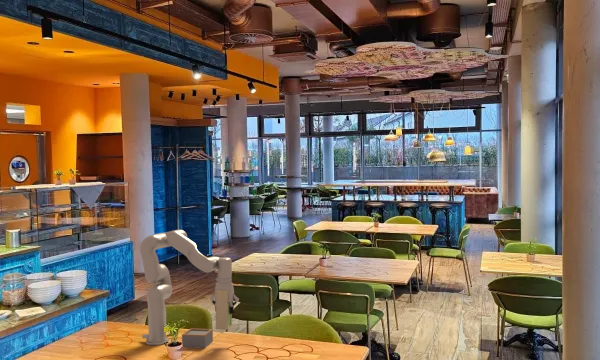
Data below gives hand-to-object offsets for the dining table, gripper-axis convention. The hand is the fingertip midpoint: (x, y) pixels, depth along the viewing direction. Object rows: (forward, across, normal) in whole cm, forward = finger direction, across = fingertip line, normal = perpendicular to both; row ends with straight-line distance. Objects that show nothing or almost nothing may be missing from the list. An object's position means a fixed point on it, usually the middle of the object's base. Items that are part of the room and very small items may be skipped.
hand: (224, 313), depth 280 cm
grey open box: (+18, -15, 0) cm, 23 cm away
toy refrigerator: (+8, 0, 0) cm, 8 cm away
